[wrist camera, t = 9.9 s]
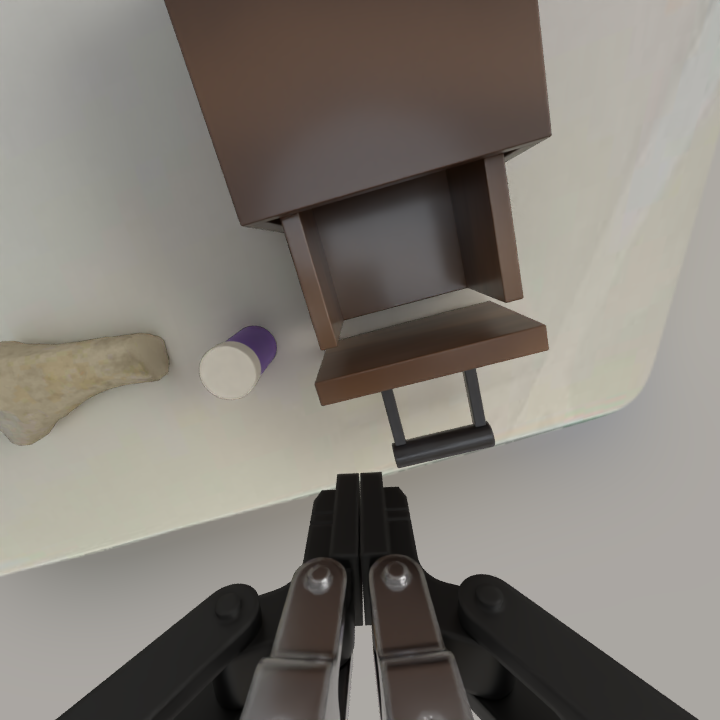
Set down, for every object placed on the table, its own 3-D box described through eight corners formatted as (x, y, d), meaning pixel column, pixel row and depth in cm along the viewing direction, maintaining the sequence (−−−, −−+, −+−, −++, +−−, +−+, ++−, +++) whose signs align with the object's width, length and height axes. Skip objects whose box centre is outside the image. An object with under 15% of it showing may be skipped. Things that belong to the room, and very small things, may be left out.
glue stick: (241, 372, 25) (211, 406, 20) (226, 330, 24) (189, 354, 19) (284, 361, 25) (264, 392, 20) (269, 319, 24) (244, 339, 19)
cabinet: (476, 179, 22) (552, 136, 13) (286, 233, 23) (240, 226, 14) (427, -122, 18) (490, -465, 9) (201, -42, 19) (65, -287, 10)
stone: (48, 433, 27) (-18, 472, 22) (-13, 357, 25) (-98, 381, 20) (180, 366, 25) (138, 392, 21) (124, 281, 24) (65, 288, 19)
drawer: (506, 400, 25) (563, 461, 18) (355, 436, 26) (354, 508, 19) (455, 92, 20) (507, 10, 13) (269, 149, 21) (222, 101, 14)
